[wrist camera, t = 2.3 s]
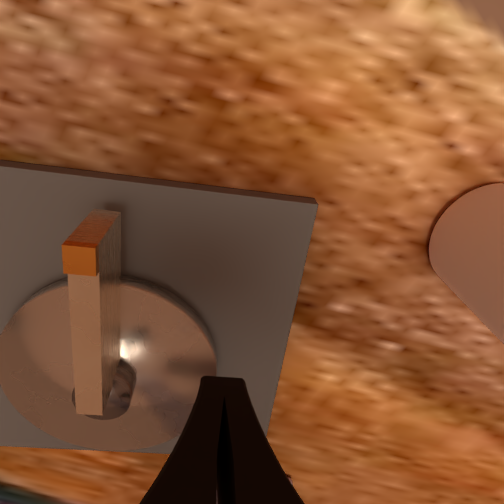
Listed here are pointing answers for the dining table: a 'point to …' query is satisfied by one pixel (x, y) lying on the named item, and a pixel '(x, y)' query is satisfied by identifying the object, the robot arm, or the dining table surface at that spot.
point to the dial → (104, 350)
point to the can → (474, 253)
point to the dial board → (164, 264)
